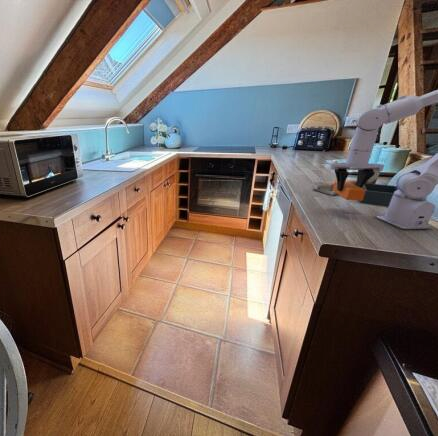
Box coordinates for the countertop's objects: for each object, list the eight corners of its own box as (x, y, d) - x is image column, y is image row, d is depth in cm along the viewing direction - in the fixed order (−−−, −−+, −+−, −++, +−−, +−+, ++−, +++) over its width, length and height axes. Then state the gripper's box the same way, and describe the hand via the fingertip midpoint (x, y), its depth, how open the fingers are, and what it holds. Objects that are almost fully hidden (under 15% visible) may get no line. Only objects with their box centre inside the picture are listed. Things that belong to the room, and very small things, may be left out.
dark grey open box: (401, 207, 91) (406, 195, 89) (360, 202, 97) (365, 190, 95) (393, 197, 102) (397, 186, 100) (357, 193, 108) (361, 182, 106)
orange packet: (362, 200, 79) (366, 190, 77) (346, 199, 80) (349, 189, 78) (346, 191, 88) (349, 181, 87) (332, 190, 90) (334, 181, 88)
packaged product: (335, 185, 103) (314, 180, 112) (332, 196, 105) (311, 190, 114) (365, 181, 108) (343, 176, 117) (362, 191, 110) (340, 186, 119)
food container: (362, 182, 124) (368, 163, 120) (376, 185, 119) (383, 165, 115) (346, 185, 120) (353, 165, 116) (361, 188, 115) (368, 167, 111)
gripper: (380, 148, 80) (366, 188, 85) (329, 148, 84) (319, 186, 89) (393, 151, 74) (378, 194, 79) (338, 151, 77) (327, 192, 82)
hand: (348, 190), depth 83 cm, fingers closed on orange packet, 4 cm apart
